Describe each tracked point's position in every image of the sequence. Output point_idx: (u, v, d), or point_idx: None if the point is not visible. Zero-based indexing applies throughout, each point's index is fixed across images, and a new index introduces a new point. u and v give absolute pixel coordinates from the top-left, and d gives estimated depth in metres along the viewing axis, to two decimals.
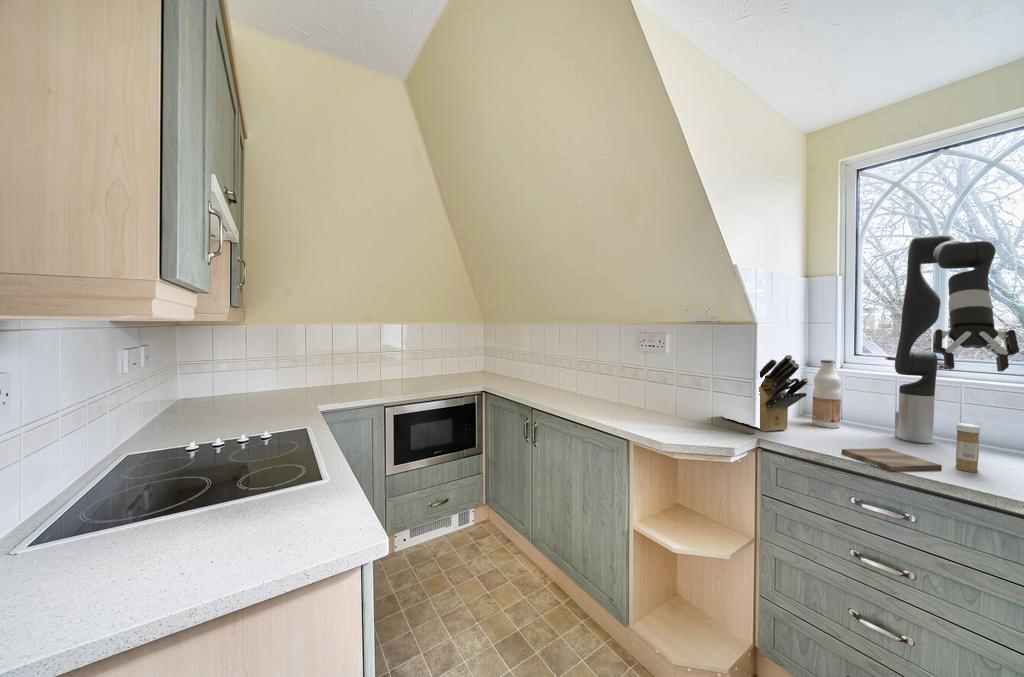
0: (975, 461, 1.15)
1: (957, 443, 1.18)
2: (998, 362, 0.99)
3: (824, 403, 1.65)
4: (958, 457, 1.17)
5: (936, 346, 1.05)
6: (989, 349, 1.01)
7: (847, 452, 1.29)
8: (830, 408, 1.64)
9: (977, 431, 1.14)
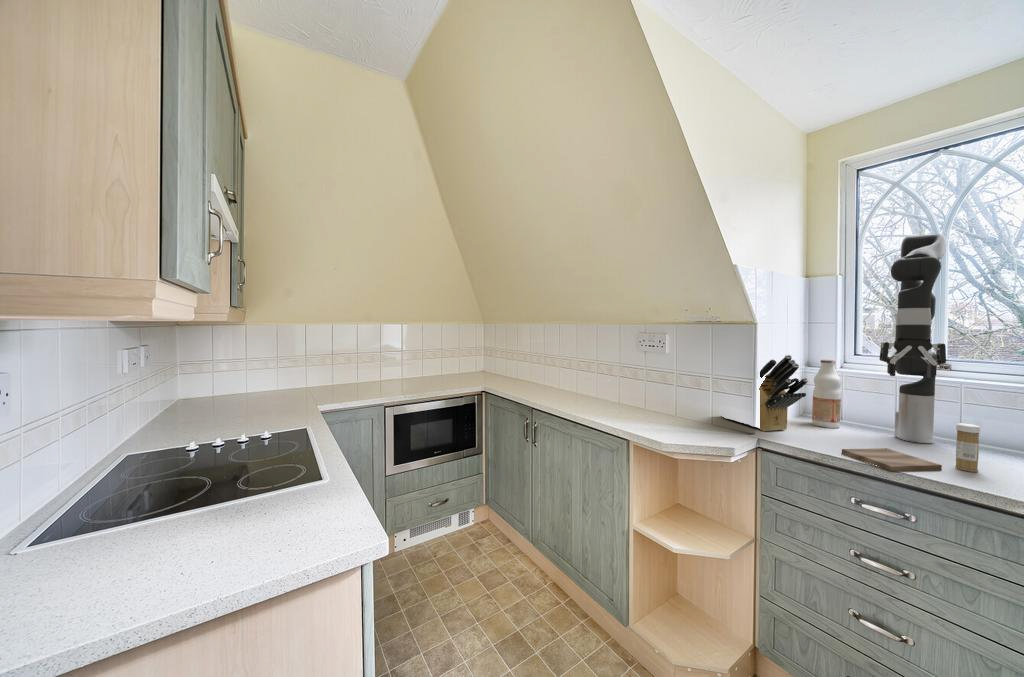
0: (975, 461, 1.15)
1: (957, 443, 1.18)
2: (928, 370, 1.19)
3: (824, 403, 1.65)
4: (958, 457, 1.17)
5: (883, 357, 1.23)
6: (923, 358, 1.20)
7: (847, 452, 1.29)
8: (830, 408, 1.64)
9: (977, 431, 1.14)
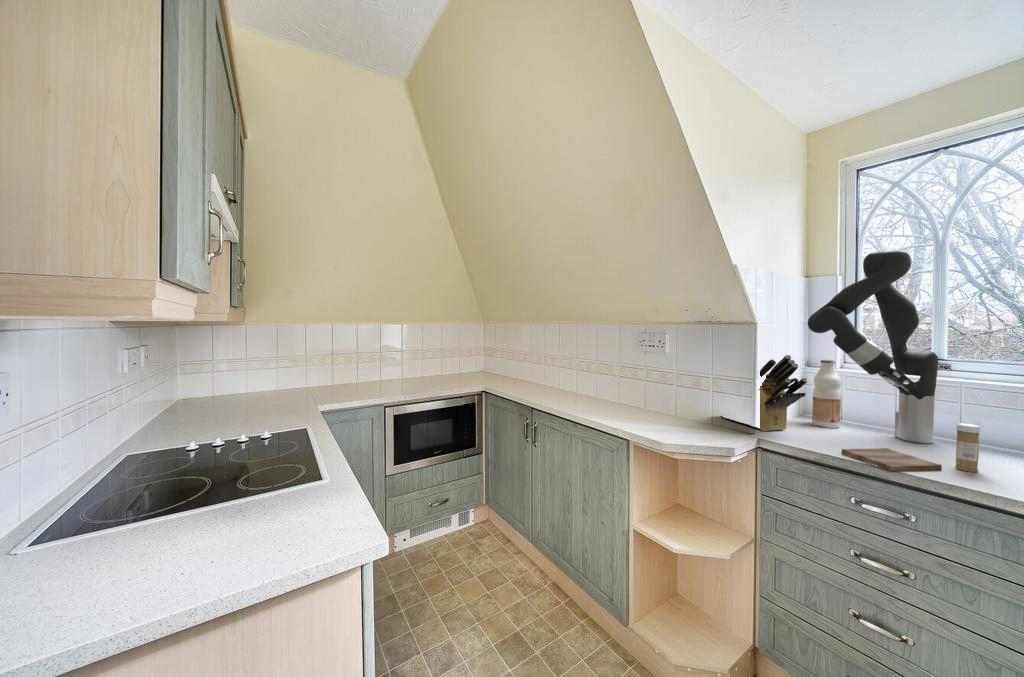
0: (975, 461, 1.15)
1: (957, 443, 1.18)
2: None
3: (824, 403, 1.65)
4: (958, 457, 1.17)
5: None
6: None
7: (847, 452, 1.29)
8: (830, 408, 1.64)
9: (977, 431, 1.14)
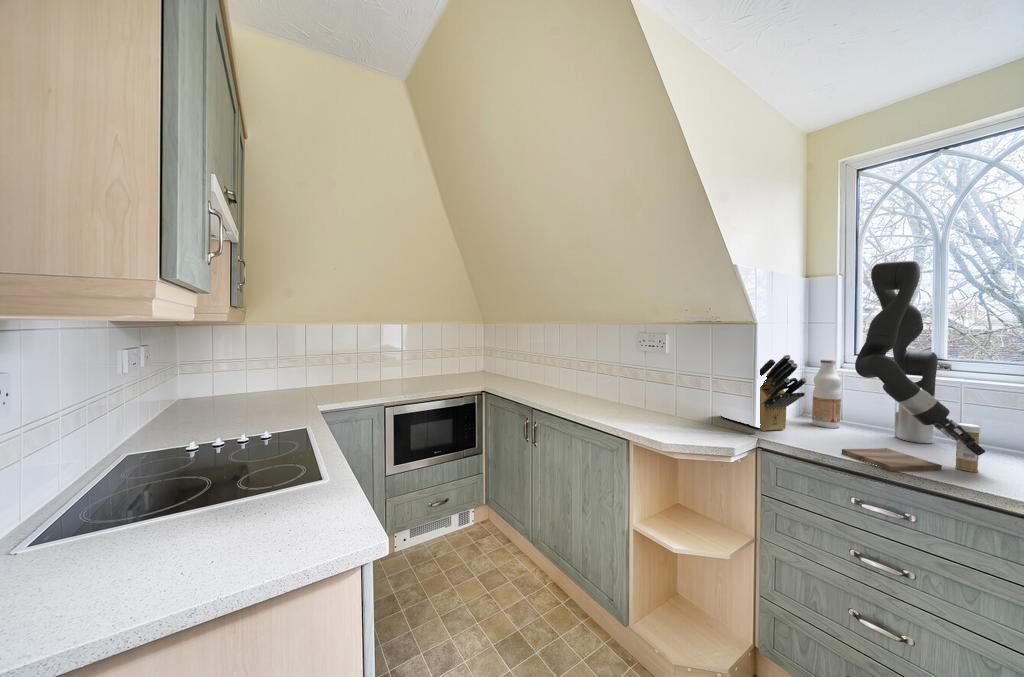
0: (975, 461, 1.15)
1: (957, 443, 1.18)
2: None
3: (824, 403, 1.65)
4: (958, 457, 1.17)
5: None
6: None
7: (847, 452, 1.29)
8: (830, 408, 1.64)
9: (977, 431, 1.14)
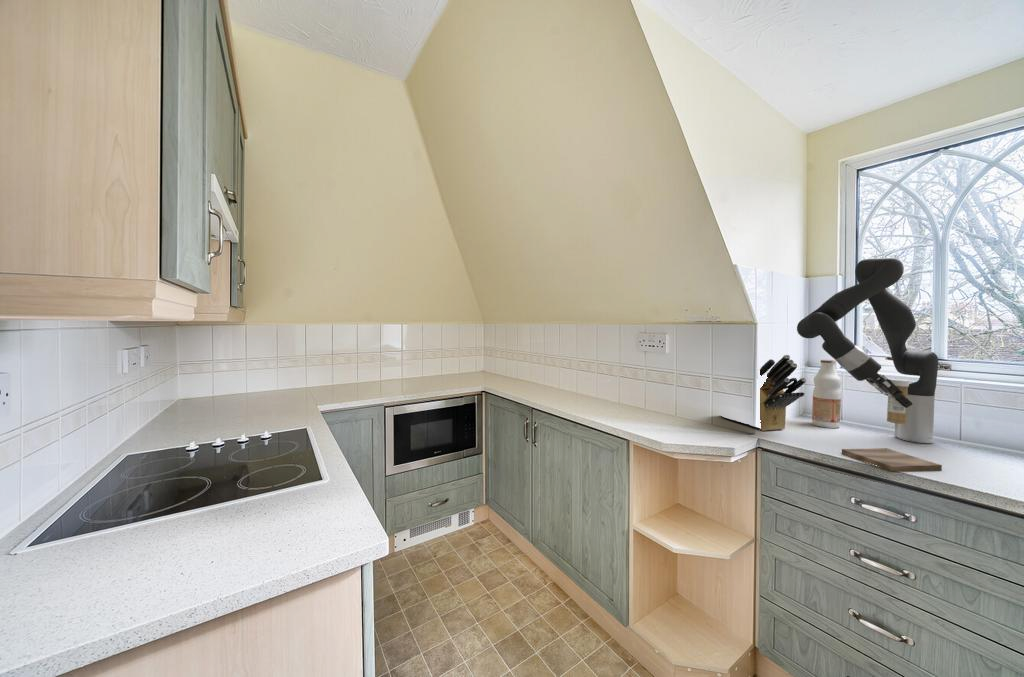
0: (904, 413, 1.20)
1: (888, 397, 1.23)
2: None
3: (824, 403, 1.65)
4: (888, 411, 1.23)
5: (880, 391, 1.28)
6: None
7: (847, 452, 1.29)
8: (830, 408, 1.64)
9: (906, 385, 1.20)
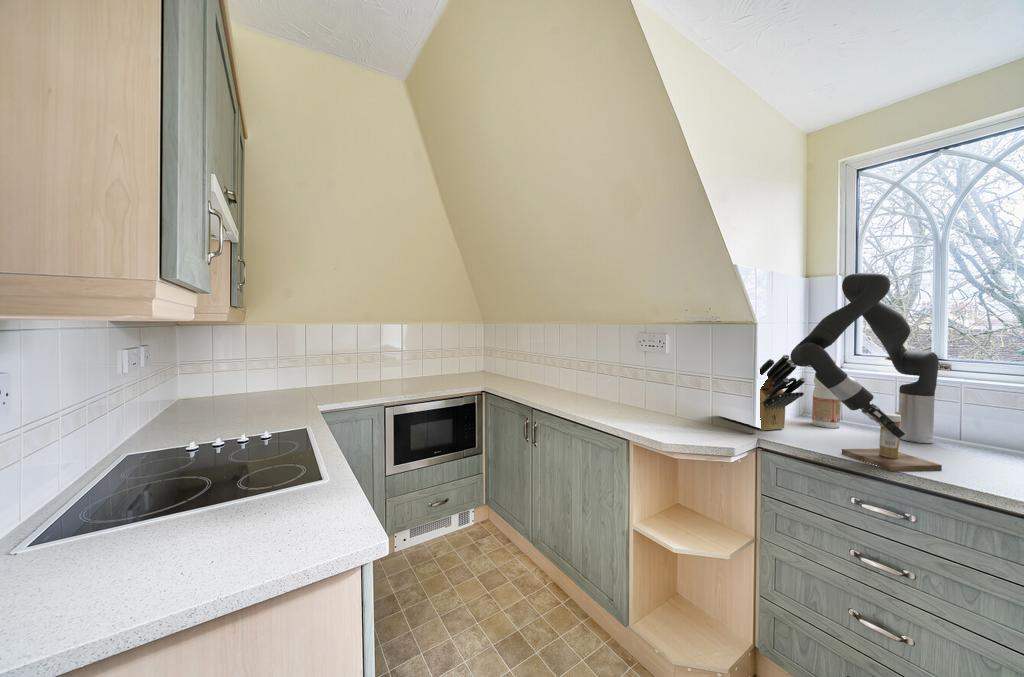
0: (895, 448, 1.22)
1: (880, 431, 1.24)
2: None
3: (824, 403, 1.65)
4: (880, 445, 1.24)
5: None
6: None
7: (847, 452, 1.29)
8: (830, 408, 1.64)
9: (898, 420, 1.21)
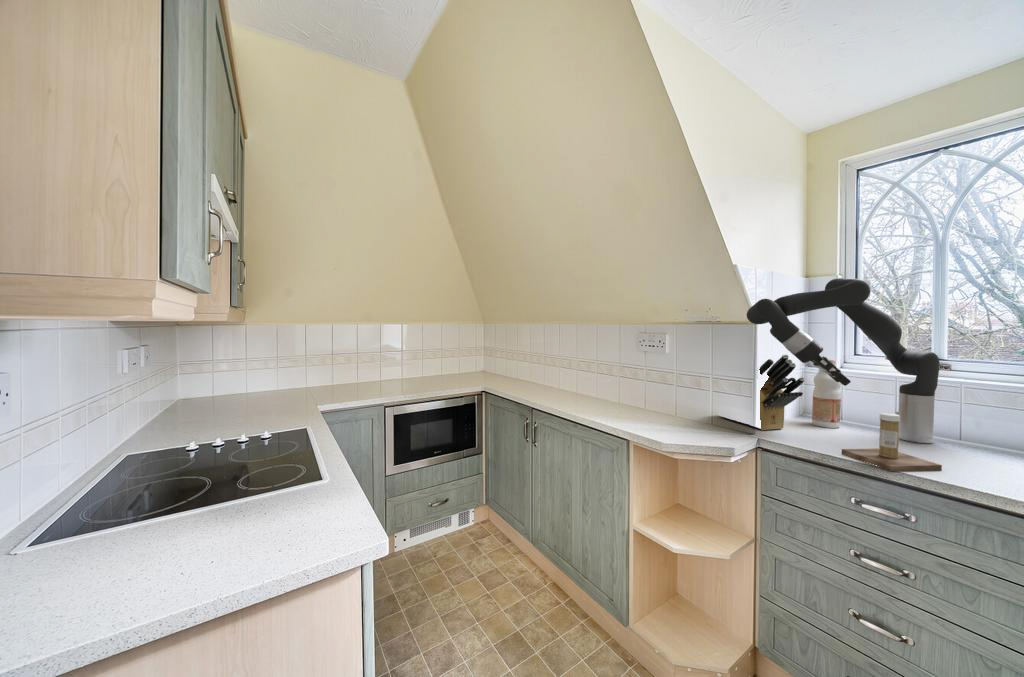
0: (895, 448, 1.22)
1: (880, 431, 1.24)
2: None
3: (824, 403, 1.65)
4: (880, 445, 1.24)
5: None
6: None
7: (847, 452, 1.29)
8: (830, 408, 1.64)
9: (897, 420, 1.21)
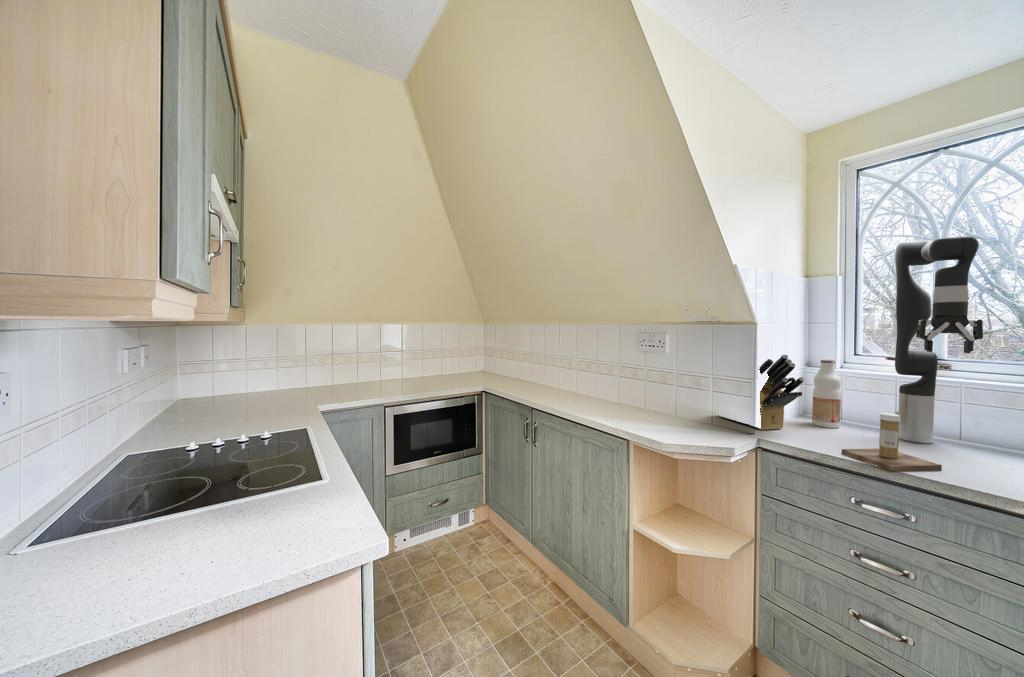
0: (895, 448, 1.22)
1: (880, 431, 1.24)
2: (965, 346, 1.23)
3: (824, 403, 1.65)
4: (880, 445, 1.24)
5: (920, 334, 1.27)
6: (960, 334, 1.24)
7: (847, 452, 1.29)
8: (830, 408, 1.64)
9: (897, 420, 1.21)
